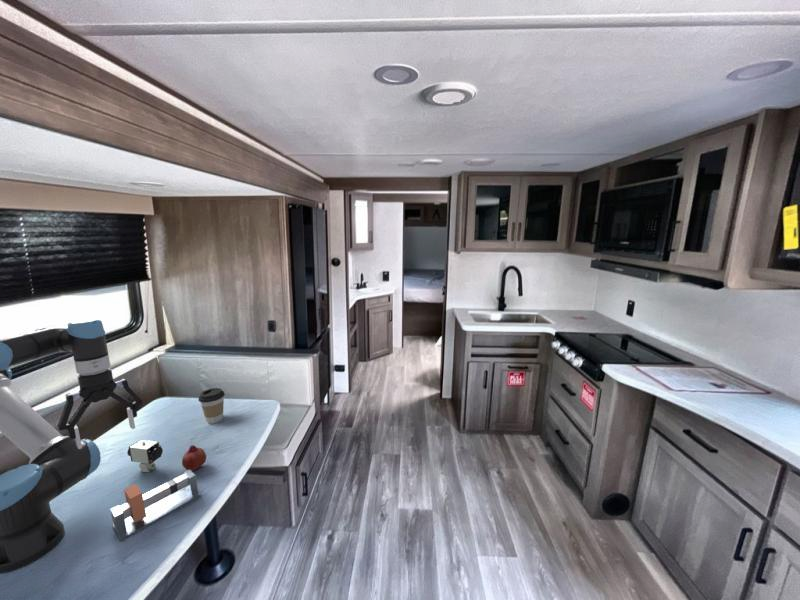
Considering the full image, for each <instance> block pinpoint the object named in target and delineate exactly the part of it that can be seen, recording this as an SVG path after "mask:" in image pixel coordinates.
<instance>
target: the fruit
mask: <svg viewBox="0 0 800 600" xmlns="http://www.w3.org/2000/svg"><path fill="white" fill-rule="evenodd" d="M206 460H207V454H206V452H205V450H204V449H203V448H202V447H196V445H193V444H192V445H190V446H189V448H188V450H187V451H186V452H185V453H184V455H183V457H182V461H181V465H182V467H183V468H184V469H185V470H186V471H188V470H191V471H192V472H193V471H196V470H198V469H199V468H200V467H202V466H203V465H204V464H205V462H206Z"/></svg>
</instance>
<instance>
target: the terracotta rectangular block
mask: <svg viewBox="0 0 800 600" xmlns="http://www.w3.org/2000/svg"><path fill="white" fill-rule="evenodd" d="M123 491H124V497H125V500H126V501H125V502H126V503H127V502H129V504H130V506H131V510H132V516H131V518H132V519H133V521H134V523H135V522H137V521H139V520H141V519H143V518H144V517H146V511H145V506H144V500H143V492H142V491H141V489H140V488H139V487H138V485H137V484H136V483H134V484H132V485H131V486H128V487H126V488H125V489H124V490H123Z"/></svg>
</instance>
